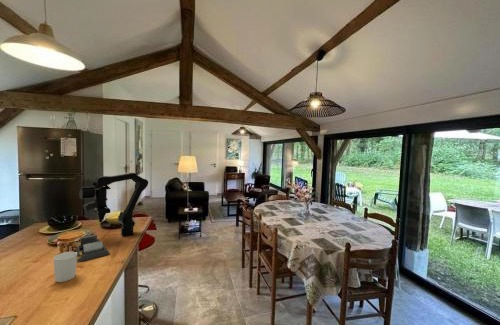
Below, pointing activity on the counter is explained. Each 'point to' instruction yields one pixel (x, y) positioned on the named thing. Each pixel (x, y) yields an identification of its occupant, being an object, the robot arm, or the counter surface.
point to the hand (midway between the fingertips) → (100, 222)
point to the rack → (94, 254)
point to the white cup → (65, 266)
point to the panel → (92, 247)
